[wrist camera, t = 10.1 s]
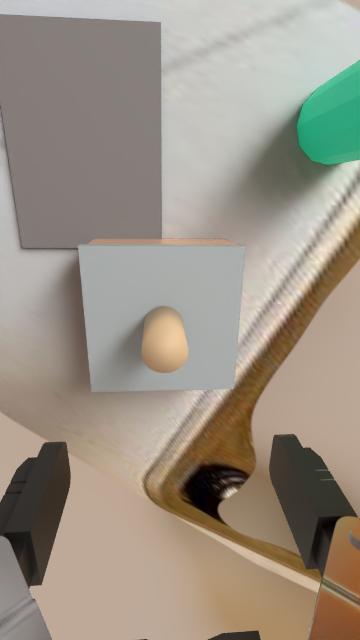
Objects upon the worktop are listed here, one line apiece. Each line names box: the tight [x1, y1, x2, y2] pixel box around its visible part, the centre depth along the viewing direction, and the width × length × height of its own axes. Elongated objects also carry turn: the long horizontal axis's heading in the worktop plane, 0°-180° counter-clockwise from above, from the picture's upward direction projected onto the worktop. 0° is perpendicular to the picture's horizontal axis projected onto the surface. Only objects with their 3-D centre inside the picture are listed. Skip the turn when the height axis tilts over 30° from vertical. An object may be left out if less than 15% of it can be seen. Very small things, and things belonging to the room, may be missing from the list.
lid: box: [78, 244, 245, 392], centre depth 24 cm, size 12×12×6 cm
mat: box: [0, 14, 162, 248], centre depth 26 cm, size 16×12×1 cm
